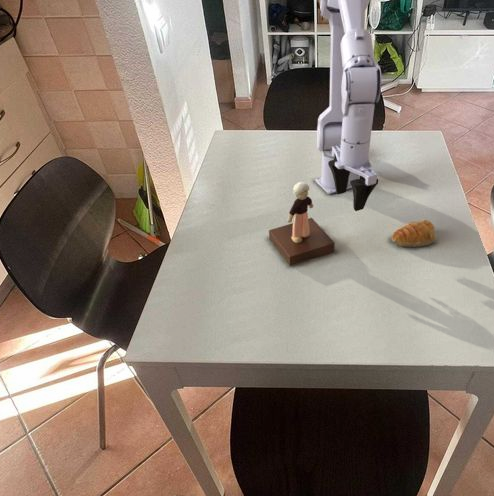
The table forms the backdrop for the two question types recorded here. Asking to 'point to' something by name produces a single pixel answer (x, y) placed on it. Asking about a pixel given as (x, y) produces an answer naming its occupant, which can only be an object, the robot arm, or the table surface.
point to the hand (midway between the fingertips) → (349, 200)
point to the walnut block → (301, 243)
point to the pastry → (415, 234)
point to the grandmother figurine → (300, 212)
